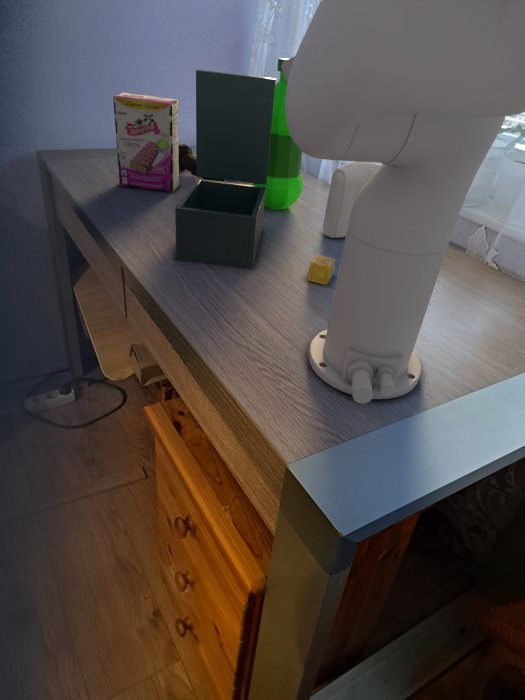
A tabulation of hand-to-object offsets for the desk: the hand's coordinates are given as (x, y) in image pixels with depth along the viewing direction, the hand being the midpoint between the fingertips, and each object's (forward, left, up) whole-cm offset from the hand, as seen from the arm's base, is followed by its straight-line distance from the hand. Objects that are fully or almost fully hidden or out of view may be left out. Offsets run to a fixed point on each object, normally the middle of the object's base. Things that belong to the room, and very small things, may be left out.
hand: (342, 146), depth 61 cm
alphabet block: (0, 0, -19) cm, 19 cm away
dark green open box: (+8, +16, -19) cm, 26 cm away
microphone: (+41, +27, -19) cm, 52 cm away
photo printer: (+20, -5, -19) cm, 28 cm away
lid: (+14, +16, -3) cm, 21 cm away
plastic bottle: (+30, +9, -19) cm, 36 cm away
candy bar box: (+32, +35, -19) cm, 51 cm away
